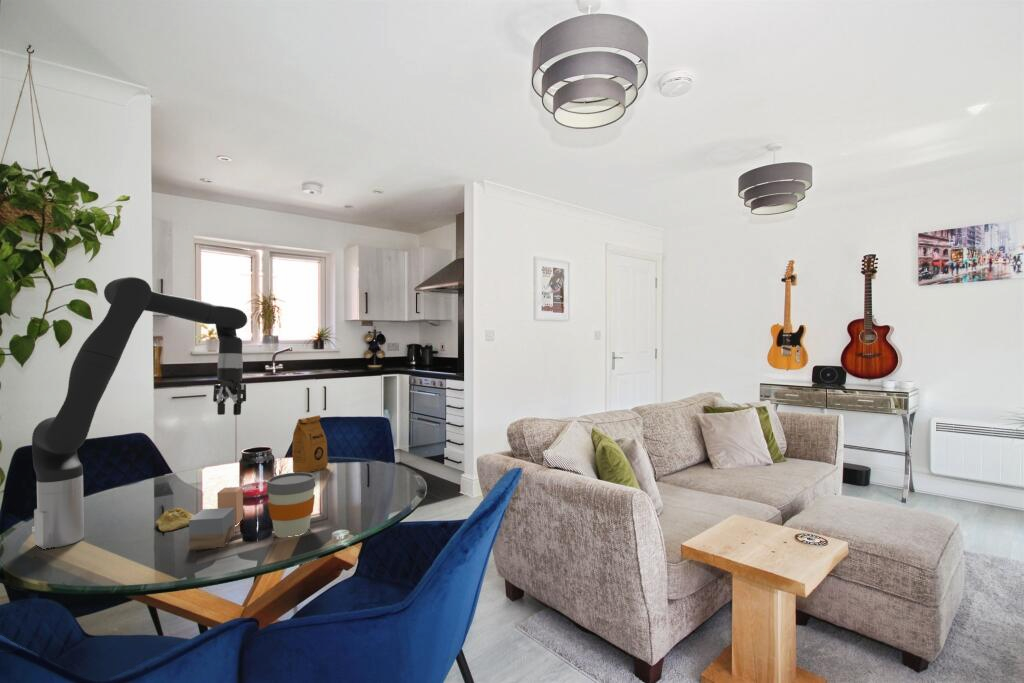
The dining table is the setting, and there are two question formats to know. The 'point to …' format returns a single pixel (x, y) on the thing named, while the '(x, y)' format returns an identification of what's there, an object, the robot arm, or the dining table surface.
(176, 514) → the golden lumpy piece
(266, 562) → the dining table surface
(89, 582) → the dining table surface
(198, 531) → the grey flat square block
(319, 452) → the coffee package
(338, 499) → the dining table surface
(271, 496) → the reusable coffee cup
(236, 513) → the terracotta block
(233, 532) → the tower base
